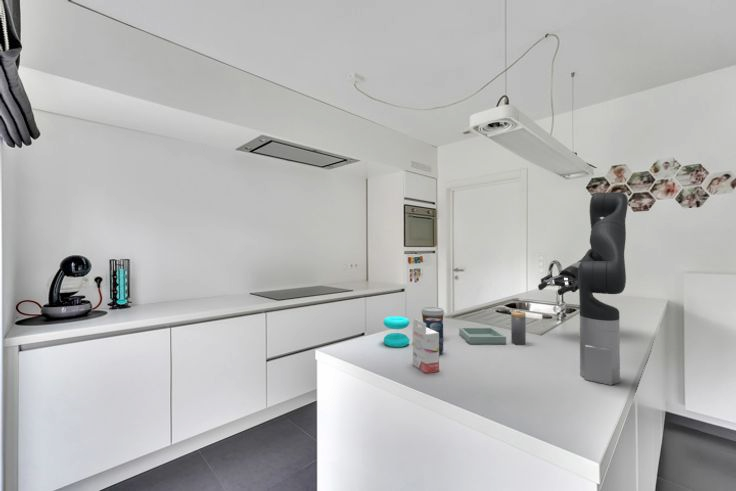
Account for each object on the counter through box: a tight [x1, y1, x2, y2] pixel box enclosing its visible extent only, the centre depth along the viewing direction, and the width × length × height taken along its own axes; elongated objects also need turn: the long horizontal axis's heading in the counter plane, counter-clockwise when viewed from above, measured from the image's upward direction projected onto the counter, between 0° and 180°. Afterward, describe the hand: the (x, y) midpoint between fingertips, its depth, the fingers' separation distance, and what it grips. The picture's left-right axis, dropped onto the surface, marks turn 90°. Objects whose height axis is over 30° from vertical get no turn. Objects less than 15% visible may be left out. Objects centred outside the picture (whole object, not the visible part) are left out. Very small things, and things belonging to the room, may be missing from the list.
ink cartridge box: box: [412, 318, 440, 374], centre depth 99 cm, size 9×5×15 cm, turn 21°
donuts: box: [382, 315, 410, 348], centre depth 123 cm, size 10×10×10 cm
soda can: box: [424, 317, 444, 356], centre depth 113 cm, size 7×7×12 cm
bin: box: [458, 327, 507, 346], centre depth 129 cm, size 14×14×3 cm
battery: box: [510, 309, 527, 346], centre depth 123 cm, size 5×5×13 cm
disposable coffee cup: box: [420, 306, 446, 324], centre depth 131 cm, size 10×10×12 cm
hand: (548, 290), depth 127 cm, fingers open, 8 cm apart
